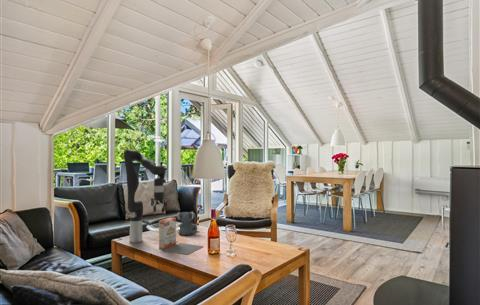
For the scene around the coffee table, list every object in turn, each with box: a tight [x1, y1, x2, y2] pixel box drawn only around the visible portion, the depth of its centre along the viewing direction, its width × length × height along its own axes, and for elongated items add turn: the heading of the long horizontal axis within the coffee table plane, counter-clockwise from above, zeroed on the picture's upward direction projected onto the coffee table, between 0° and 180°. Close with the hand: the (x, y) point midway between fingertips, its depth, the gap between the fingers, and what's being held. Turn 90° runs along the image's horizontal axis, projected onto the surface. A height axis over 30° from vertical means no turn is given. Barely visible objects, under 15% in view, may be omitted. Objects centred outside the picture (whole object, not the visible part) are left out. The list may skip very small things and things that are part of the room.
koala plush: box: [176, 211, 198, 236], centre depth 273 cm, size 17×18×20 cm
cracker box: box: [158, 217, 177, 250], centre depth 235 cm, size 14×6×21 cm, turn 154°
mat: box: [163, 242, 204, 256], centre depth 228 cm, size 22×20×1 cm
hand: (158, 212), depth 239 cm, fingers open, 8 cm apart
